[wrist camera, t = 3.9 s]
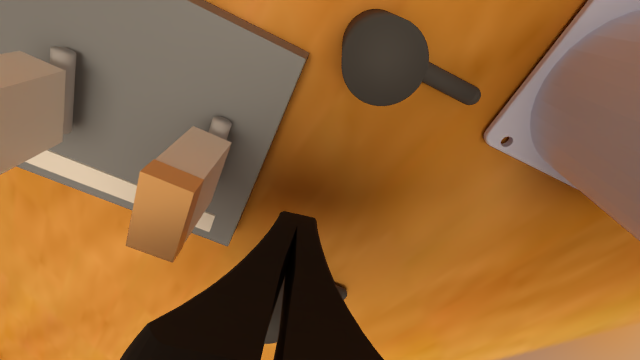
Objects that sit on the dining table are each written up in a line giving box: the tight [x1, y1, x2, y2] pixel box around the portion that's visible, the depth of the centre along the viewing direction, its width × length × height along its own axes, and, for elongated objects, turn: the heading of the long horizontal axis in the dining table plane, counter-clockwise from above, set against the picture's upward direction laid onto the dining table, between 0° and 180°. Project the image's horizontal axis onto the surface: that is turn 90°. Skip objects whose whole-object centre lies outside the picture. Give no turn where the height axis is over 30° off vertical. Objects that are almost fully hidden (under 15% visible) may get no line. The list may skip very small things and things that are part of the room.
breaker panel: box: [0, 0, 309, 246], centre depth 15 cm, size 17×11×2 cm, turn 65°
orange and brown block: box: [0, 46, 76, 174], centre depth 12 cm, size 2×4×5 cm, turn 155°
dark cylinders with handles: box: [264, 9, 481, 344], centre depth 15 cm, size 7×17×4 cm, turn 155°
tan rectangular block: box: [126, 116, 232, 263], centre depth 13 cm, size 2×4×5 cm, turn 155°
